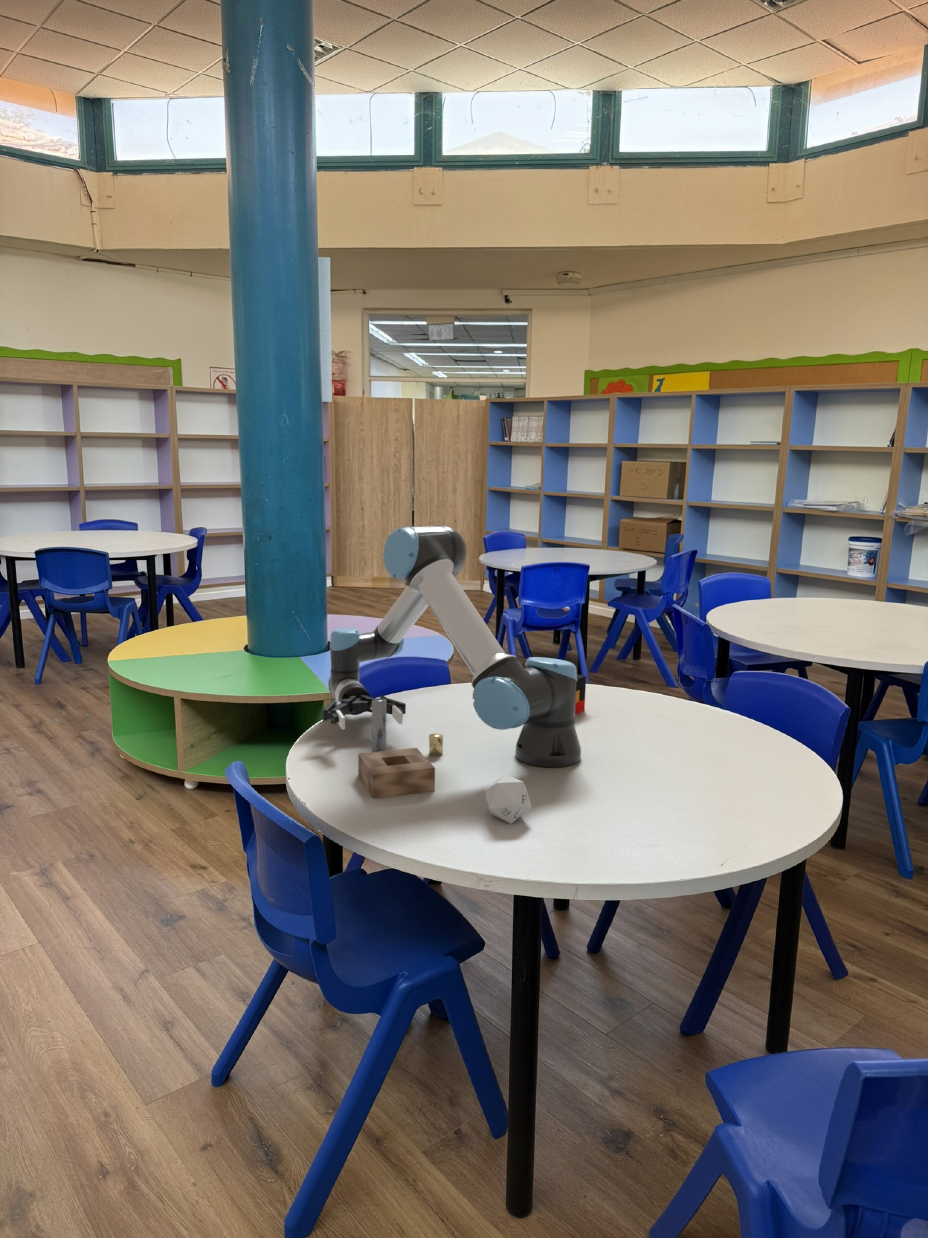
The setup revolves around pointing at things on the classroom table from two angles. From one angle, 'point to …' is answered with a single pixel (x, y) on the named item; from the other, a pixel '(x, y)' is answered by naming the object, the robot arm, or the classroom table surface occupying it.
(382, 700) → the long metal pin
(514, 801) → the die
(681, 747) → the classroom table surface
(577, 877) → the classroom table surface
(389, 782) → the hole block
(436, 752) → the short brass pin
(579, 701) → the puzzle toy
